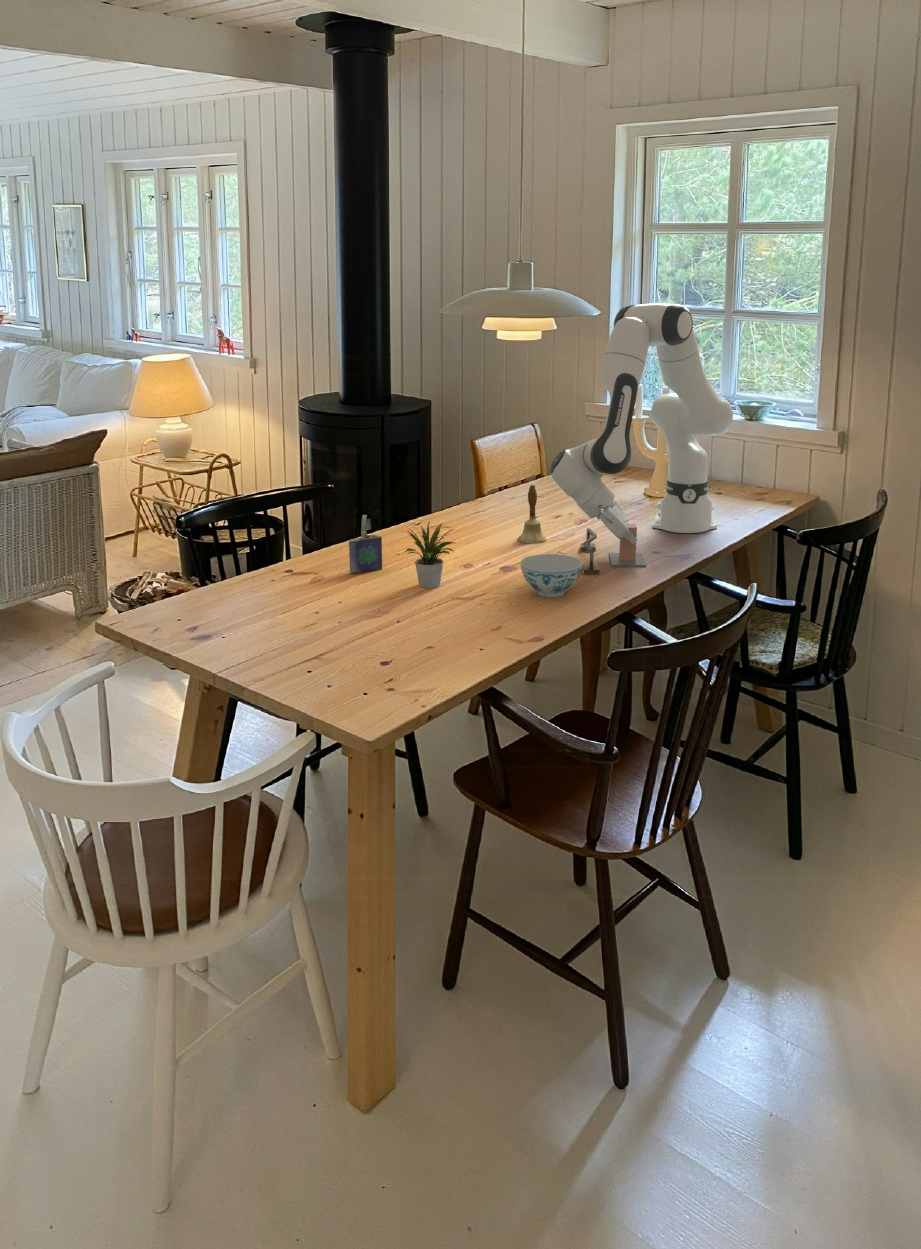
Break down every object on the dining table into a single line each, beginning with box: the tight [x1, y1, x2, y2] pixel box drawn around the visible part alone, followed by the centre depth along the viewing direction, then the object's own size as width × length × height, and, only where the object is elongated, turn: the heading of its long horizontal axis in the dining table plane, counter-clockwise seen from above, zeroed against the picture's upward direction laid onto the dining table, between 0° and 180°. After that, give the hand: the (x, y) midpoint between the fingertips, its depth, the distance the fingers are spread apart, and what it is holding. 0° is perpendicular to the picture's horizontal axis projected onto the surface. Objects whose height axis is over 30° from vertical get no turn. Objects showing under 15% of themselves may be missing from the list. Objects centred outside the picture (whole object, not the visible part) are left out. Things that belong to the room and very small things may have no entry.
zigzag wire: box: [579, 527, 600, 575], centre depth 293 cm, size 26×4×6 cm, turn 176°
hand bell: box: [517, 484, 547, 545], centre depth 312 cm, size 8×8×16 cm
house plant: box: [401, 520, 456, 589], centre depth 270 cm, size 14×14×16 cm
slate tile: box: [608, 551, 647, 568], centre depth 293 cm, size 12×9×1 cm
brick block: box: [618, 523, 638, 561], centre depth 291 cm, size 4×4×9 cm
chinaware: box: [519, 553, 583, 598], centre depth 266 cm, size 15×15×8 cm
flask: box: [348, 530, 383, 575], centre depth 285 cm, size 9×3×11 cm, turn 121°
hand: (634, 538), depth 291 cm, fingers open, 5 cm apart
